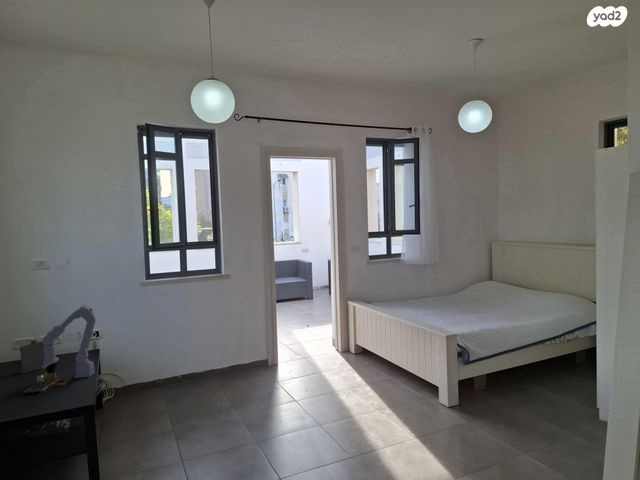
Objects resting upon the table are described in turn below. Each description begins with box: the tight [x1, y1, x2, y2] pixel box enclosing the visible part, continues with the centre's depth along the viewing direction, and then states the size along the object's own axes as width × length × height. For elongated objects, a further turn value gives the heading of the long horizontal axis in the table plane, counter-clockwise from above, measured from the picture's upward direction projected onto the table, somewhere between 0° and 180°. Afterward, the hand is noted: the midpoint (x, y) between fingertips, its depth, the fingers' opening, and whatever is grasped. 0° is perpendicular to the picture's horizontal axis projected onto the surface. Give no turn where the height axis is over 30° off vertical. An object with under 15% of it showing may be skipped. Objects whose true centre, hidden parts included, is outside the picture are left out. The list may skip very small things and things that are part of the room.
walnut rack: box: [50, 378, 72, 388], centre depth 253 cm, size 8×8×2 cm
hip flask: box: [19, 339, 45, 374], centre depth 284 cm, size 16×4×20 cm, turn 132°
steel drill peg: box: [36, 374, 44, 387], centre depth 249 cm, size 4×4×7 cm
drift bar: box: [22, 371, 58, 394], centre depth 249 cm, size 20×8×4 cm, turn 4°
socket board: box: [34, 380, 55, 392], centre depth 249 cm, size 9×12×2 cm
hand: (51, 376), depth 260 cm, fingers closed
